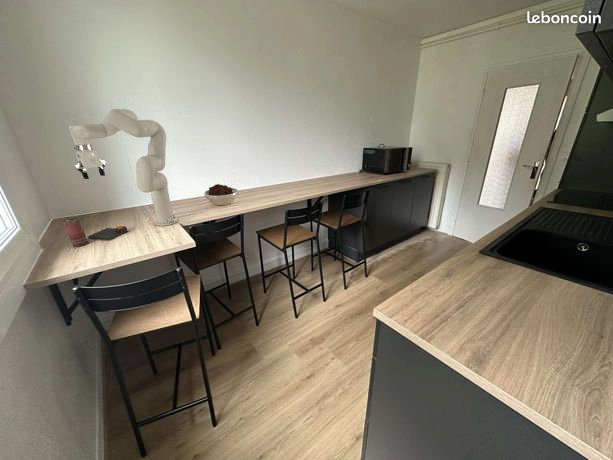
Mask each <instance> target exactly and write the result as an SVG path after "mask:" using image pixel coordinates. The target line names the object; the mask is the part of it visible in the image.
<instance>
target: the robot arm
mask: <svg viewBox="0 0 613 460" xmlns="http://www.w3.org/2000/svg"><path fill="white" fill-rule="evenodd" d="M68 130H69V133H70V136H71V138H72V141H73V143H74V146H73V149H74V150H76V152H75V153H76V159H77V163H75V164H74V165H73V167H74V169H76V171H78V172H79V173H81V175H82V178H83V179H84V180H90V177H89V175H88V172H87V169H95V168H98V173H99V176H102V177H105V176H106V174H105V173H106V172H105V170H104V169H105V167H106V161H105V160H103V159H101V158H100V156H99V154H98V152H97V150H96V149H94V146H93V144H92V141H91V140H95V139H104V138H108V137H111V136H114V135H115V134H117V133H118V132H120V131H122V132H124V133H126V134H128V135H130V136H132V137H135V138H142V139H143V138H149V141H148V143H147V144H148V145H147V155H143V156H140V157H139V158H138V159H137V160H136V163H135V177H136V178H135V179H136V186H137V188H138V189H139V190H140V191H141V192H142V193H150V198H151V203H152V205H153V209H154V213H155V217H156V220H155V222H154V224H155V226H158V227H166V226H167V227H168V226H171V225H174V224H176V223H177V222H179V219H180V217H179V216H176V215H175V214H174V211H173V207H172V203H171V198H170V193H169V185H168V179H167V176H166V175H165V174H164V173H162V172H161V171H164V169H165V167H166V147H167V133H166V130H165V128H164V127H163V125H161V124H160V123H159V122H158V121H155V120H151V119H139V118H138V115H137V114H136V113H135V112H134V111H133V110H130V109H127V108H112V109H109V110H108V112H107V113H106V115H105V116H104V117H103V118H102V122H101V123H93V124H91V123H88V124H70V125H69V126H68Z"/></svg>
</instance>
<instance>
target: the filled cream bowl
mask: <svg viewBox="0 0 613 460" xmlns="http://www.w3.org/2000/svg"><path fill="white" fill-rule="evenodd" d="M238 194H239V190H238V189H237V188H234V187H231V186H228V185H227V184H220V183H216V184H214V185H212V186H209V187H208V189H207V190H206V191H204V193H203V195H204V197H205V199H207V200H208V201H209V203H210V204H212V205H215V206H227V205H230V204H232V203H234V202H235V200H236V198H237V197H238Z"/></svg>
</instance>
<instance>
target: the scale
mask: <svg viewBox="0 0 613 460" xmlns="http://www.w3.org/2000/svg"><path fill="white" fill-rule="evenodd" d="M122 226H123V229H118V228H117V227H115V228H114V227H106V228H103V229H100V230H99V231H96V232H94V233H91V234H89V235H88V236H86V238H87V239H89V240H100V241H112V240H114V239H115V238H117V237H120V236H122V235H124V234H126V233H128V228H127V226H125V225H122Z"/></svg>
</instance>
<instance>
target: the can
mask: <svg viewBox="0 0 613 460" xmlns="http://www.w3.org/2000/svg"><path fill="white" fill-rule="evenodd" d="M62 225H63V226H64V228H65V230H66V233H67V235H68V237H69V240H70V242H71V245H72V246H73V247H74V248H81V247H84V246H87V245H88V244H89V241H88V237H87V236H86V234H85V231H84V228H83V226H82V223H81V221H80V219H79V218H75V217H74V218H68V219H65V220H64V221H63V224H62Z"/></svg>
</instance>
